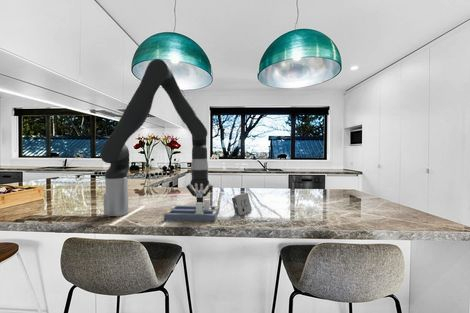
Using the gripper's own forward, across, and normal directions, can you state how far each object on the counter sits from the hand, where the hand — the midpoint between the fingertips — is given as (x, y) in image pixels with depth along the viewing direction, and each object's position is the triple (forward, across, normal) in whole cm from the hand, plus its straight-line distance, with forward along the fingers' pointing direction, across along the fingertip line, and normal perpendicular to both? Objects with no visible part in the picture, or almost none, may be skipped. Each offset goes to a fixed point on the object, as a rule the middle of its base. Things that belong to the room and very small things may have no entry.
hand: (200, 204), depth 108 cm
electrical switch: (+4, +20, +3) cm, 20 cm away
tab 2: (+3, +3, 0) cm, 4 cm away
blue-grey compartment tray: (+4, -2, -3) cm, 6 cm away
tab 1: (+3, +1, -6) cm, 7 cm away
